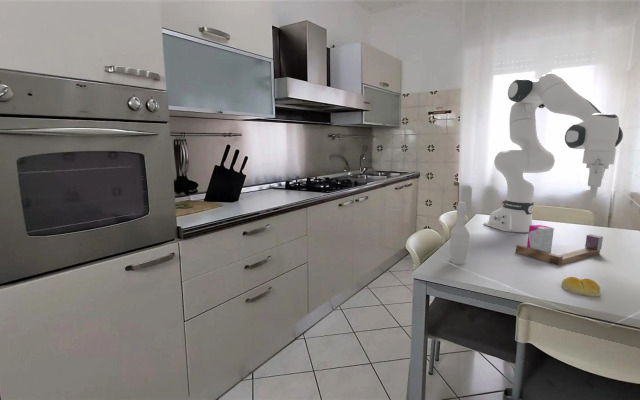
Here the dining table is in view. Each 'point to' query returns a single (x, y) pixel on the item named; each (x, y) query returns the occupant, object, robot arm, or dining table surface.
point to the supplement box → (540, 237)
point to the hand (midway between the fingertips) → (592, 196)
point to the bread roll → (581, 286)
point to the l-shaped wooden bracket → (590, 249)
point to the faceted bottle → (459, 236)
